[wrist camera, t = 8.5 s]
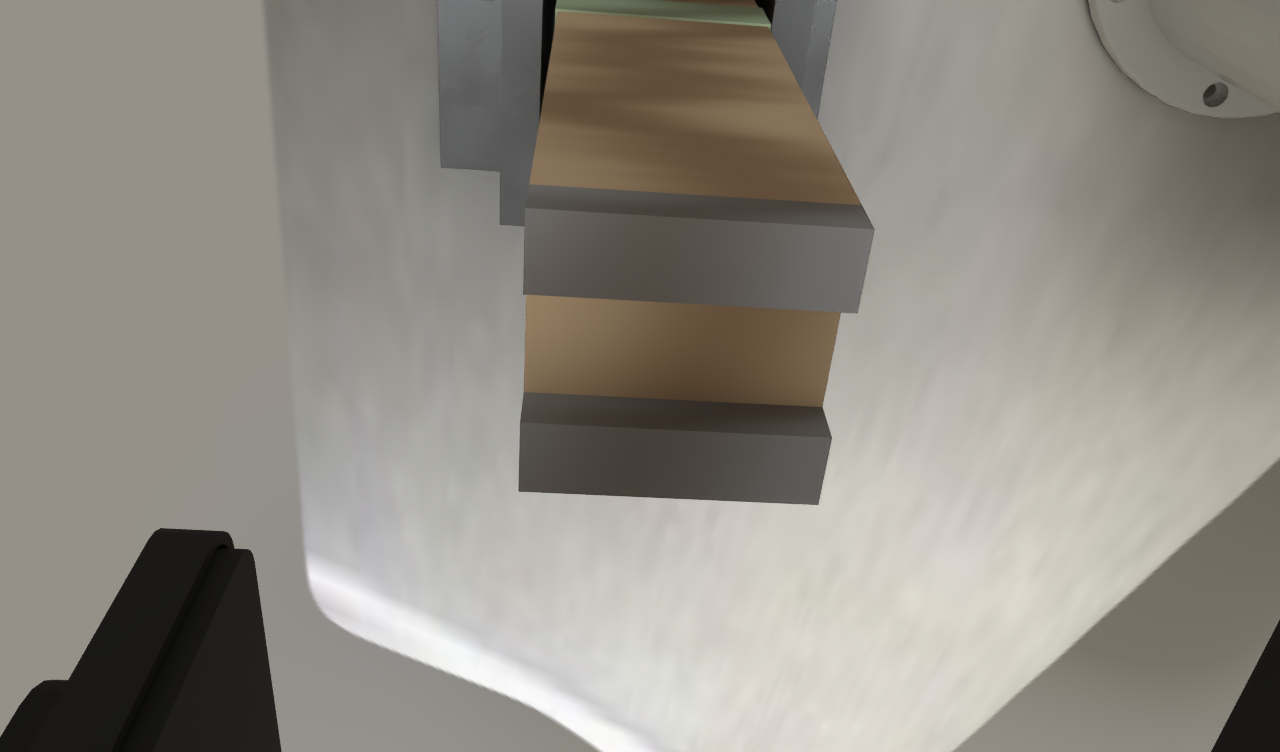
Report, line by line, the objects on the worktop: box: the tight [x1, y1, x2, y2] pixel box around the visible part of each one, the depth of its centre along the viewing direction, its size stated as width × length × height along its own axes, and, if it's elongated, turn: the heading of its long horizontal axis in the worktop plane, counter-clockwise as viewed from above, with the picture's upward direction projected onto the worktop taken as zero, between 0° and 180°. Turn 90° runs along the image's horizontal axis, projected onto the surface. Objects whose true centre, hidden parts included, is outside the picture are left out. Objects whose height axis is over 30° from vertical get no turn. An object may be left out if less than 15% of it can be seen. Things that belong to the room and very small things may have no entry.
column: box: [519, 0, 875, 505], centre depth 23 cm, size 4×4×18 cm
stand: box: [437, 0, 837, 226], centre depth 31 cm, size 13×13×13 cm
